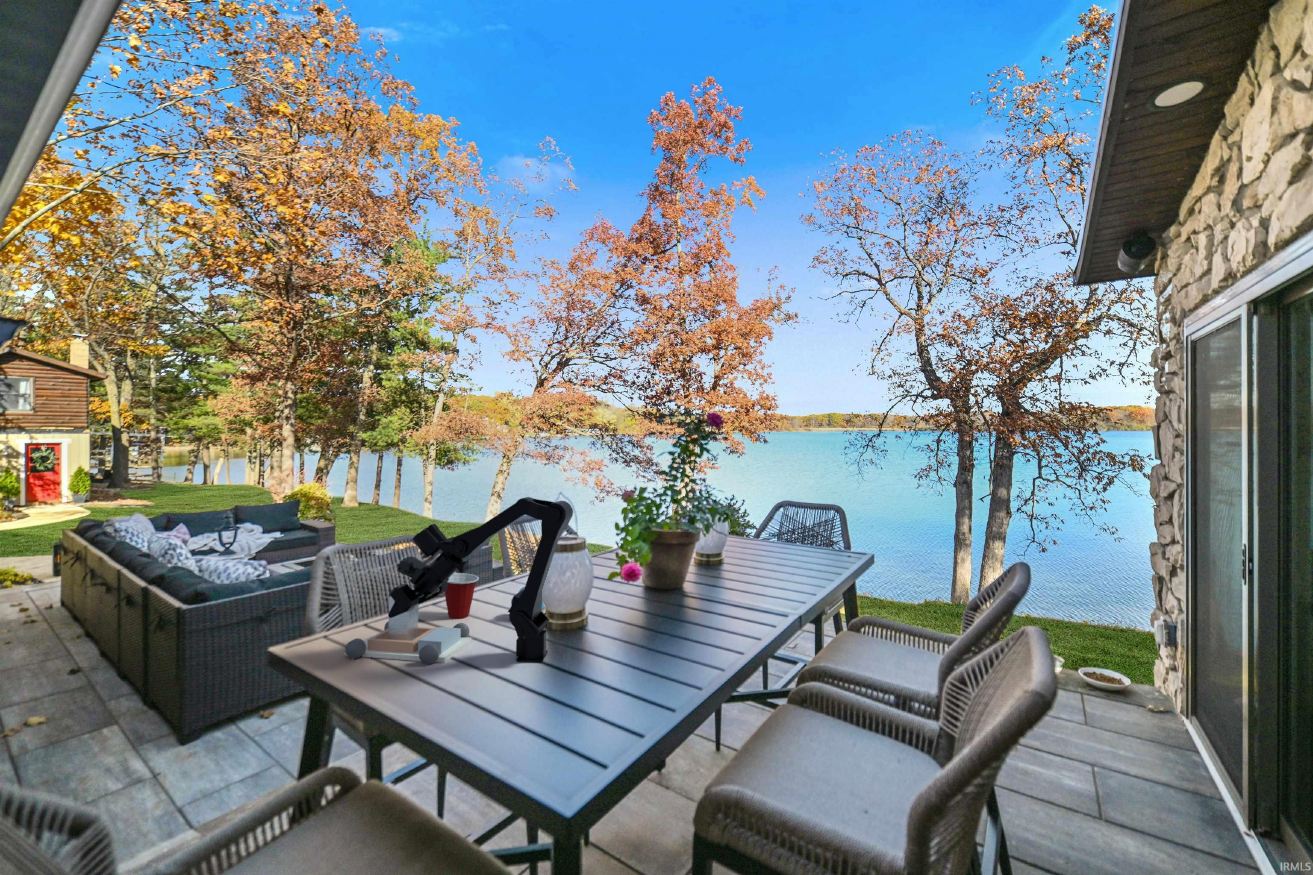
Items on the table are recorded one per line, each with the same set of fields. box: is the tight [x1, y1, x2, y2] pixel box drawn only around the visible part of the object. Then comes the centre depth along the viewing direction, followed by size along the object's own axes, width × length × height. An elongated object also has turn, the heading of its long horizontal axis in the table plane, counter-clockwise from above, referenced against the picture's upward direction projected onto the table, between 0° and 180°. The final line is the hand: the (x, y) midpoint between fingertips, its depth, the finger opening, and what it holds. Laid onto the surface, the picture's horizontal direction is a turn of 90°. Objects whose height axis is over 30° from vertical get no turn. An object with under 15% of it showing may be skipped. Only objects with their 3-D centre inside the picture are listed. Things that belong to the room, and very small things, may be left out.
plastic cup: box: [444, 572, 480, 620], centre depth 170 cm, size 11×11×12 cm
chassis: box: [344, 620, 472, 665], centre depth 143 cm, size 26×17×4 cm, turn 83°
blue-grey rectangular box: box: [388, 595, 420, 641], centre depth 143 cm, size 5×5×12 cm
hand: (398, 611), depth 143 cm, fingers open, 7 cm apart
